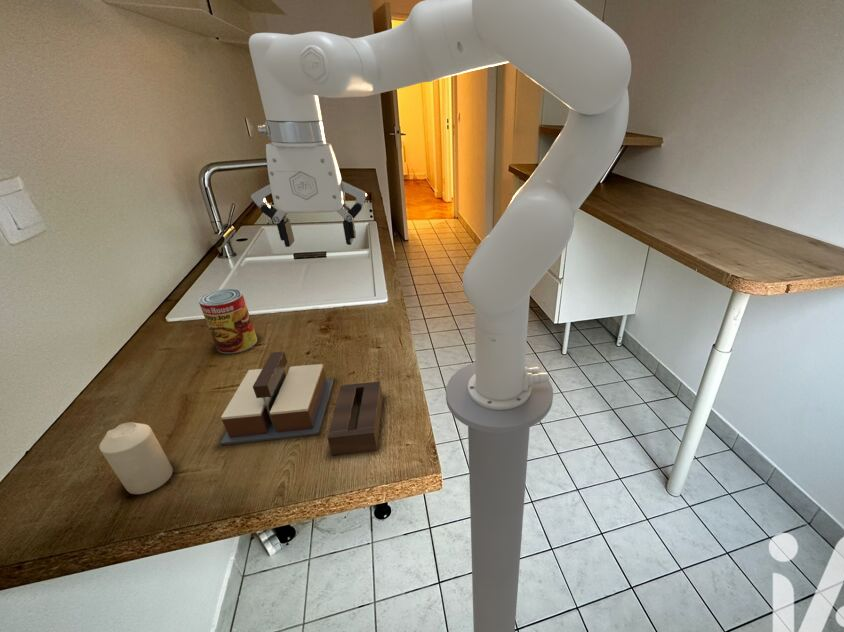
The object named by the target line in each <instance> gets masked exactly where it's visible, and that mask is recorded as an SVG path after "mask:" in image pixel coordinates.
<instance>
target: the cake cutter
mask: <svg viewBox="0 0 844 632" xmlns="http://www.w3.org/2000/svg"><path fill="white" fill-rule="evenodd" d="M287 364H288V359H287V356H286V352H285V351H274V352H270V354H269V356H268V358H267V360H266V361H265V364H264V365H263V367H262V368H261V369H262V371H261V372H260V374H259V376H258V378H257V380H256V382H255V383H254V385H253V389H254V392H255V395H256V398H263V400H264V403H265V406H266V409H267V412H268V414H269V417H270V420H271V423H272V426H273V427H275V426H274V423H273V420H272V418H271V415H270V411H271V409H272V406H273V404H274V402H275V400H276V397H277V395H278V393H279V391H280V389H281V386H282V384H283V382H284V380H285V378H286V375H287V373H286V371H285V368H286V366H287Z"/></svg>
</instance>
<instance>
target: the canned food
mask: <svg viewBox="0 0 844 632" xmlns="http://www.w3.org/2000/svg"><path fill="white" fill-rule="evenodd" d="M198 304H199V307H200V309H201V311H202V314H203V317H204V320H205V321H206V325H207V327H208V330H209V332H210V334H211V337H212V340H213V342H214V344H215V347H216V350H217V351H218V352H219V353H222V354H235V353H236V354H237V353H241V352H243V351H247V350H248V349H250V348H252V347H254V346H255V345H256V344H257V342H258V337H257V334H256V331H255V327H254V324H253V321H252V319H251V316H250V313H249V309H248V307H247V303H246V300H245V297H244V294H243V292H242V291H241V290H240V289H237V288H221V289H217V290H213V291H210V292H206V293H205V294H203V295H201V296H200V297H199V299H198Z"/></svg>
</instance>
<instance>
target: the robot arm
mask: <svg viewBox="0 0 844 632" xmlns="http://www.w3.org/2000/svg"><path fill="white" fill-rule="evenodd" d="M248 48H249V54H250V58H251V61H252V62H251V63H252V67H253V70H254V74H255V78H256V83H257V86H258V92H259V95H260V99H261V103H262V108H263V111H264V112H263V113H264V116H265V121H264V123H263V124H257V131H258V134H260V135H261V136H262V135H263V136H267V137H268V139H269V141H271V142H270V143H267V144H265V155H266V156H265V157H266V165H267V174H268V181H269V183H268V184H267V185H265V186H264V187H261V188H260V189H258V190H256V191H255V192H253V193H252V194H250V198H251V199H252V201H253V202H254V204H256V206H257V207H258V208H259V209H260V211H261V212H262V214H264V215H266V216H267V217H268V218H270V219H271V220H272V222H273V223H274V224H276V226H277V230H278V235H279V238H280V241H283V243H284V247H285V248H290V247H292V245H293V244H294V243H295V237H294V232H293V229H292V223H291V220H290V218H289V217H287V215H288V214H309V213H310V214H312V213H313V214H314V213H315V214H316V213H317V214H318V213H319V214H320V213H335V212H336V213H337V214H339V215H340V217H342V218H343V222H342V227H343V232H344V233H343V234H344V238H345V244H346V245H347V246H351V245H352V244H353V241H354V239H356V238H357V233H356V226H355V218H356V217H357V215H358V214H359V213H360V212H361V211H362V209H363V207H364V204H365V201H366V199H367V196H368V194H367V192H366V191H364V190H362V189H360V188H358V187H356V186H353V185H352V184H350V183H348V182H346V181H343V179H342V175H341V172H340V167H339V164H338V160H337V157H336V154H335V152H334V149H333V146H332V143H331V142H327V140H326V133H325V128H324V123H323V116H322V111H321V105H320V100H319V97H320V98H329V99H342V98H343V99H344V98H363V97H371V96H374V95H378V94H382V93H386V92H387V93H388V92H391V91H395V90H400V89H404V88H406V87H411V86H415V85H418V84H422V83H431V82H435V81H437V80H441V79H445V78H449V77H454V76H457V75H462V74H464V73H465V74H466V73H469V72H473V71H477V70H482V69H487V68H491V67H496V66H500V65H504V64H510V65H511V66H513V67H514V68H515V69H517V70H518V71H519V72H521V73H522V74H523V75H525V76H526V77H527V78H529V79H530V80H531V81H533V82H534V83H535V84H537V85H539V86H540V87H541V88H543V90H546V91H547V92H548V93H549V94H551V95H552V96H554V97H555V98H556V99H558V100H559V101H561V102H562V103H563V104H565V105H566V106H567V107H568V114H567V119H566V121H565V122H564V123H565V124H564V126H563V128H562V129H561V130H560V133H559V135H558V136H557V137H556V138H555V140H554V142H553V143H552V144H551V146H550V147H549V149H548V151H547V153H546V154H545V155H544V157H543V159H542V160H541V161H540V163H539V164H538V166H537V167H536V168H535V170H534V171H533V172H532V174H530V176H529V178H528V179H527V180H526V182H524V184H522V185H521V186H520V187H519V189H518V190H517V191H516V192H515V194H514V195H513V196H512V199H511V200H510V203H509V204H508V206H507V207H506V208H505V211H504V212H503V214H502V215H501V216H500V218H499V220H498V221H497V222H496V224H495V225H494V227H493V228H492V229H491V231H490V233H489V234H488V235H487V236H485V237H484V238H483V239H482V240H481V241H480V242H479V244H478V245H477V247H476V249H475V250H474V252H473V254H472V255H471V258H470V259H469V261H468V263H467V264H466V267H465V269H464V271H463V275H462V290H463V293H464V296H465V298H466V300H467V302H468V303H469V304H470V305H471V306H472V308H474V340H475V341H474V349H475V350H474V351H475V353H474V357H475V359H474V360H475V361H474V362H476V373H475V374H474V375H473V376H472V377H471V378H470V380H469V382H468V393H469V396H470V397H471V399H472V400H473V401H474V402H475V403H477V404H478V405H480V406H482V407H485V408H488V409H492V410H507V409H512V408H515V407H518V406H520V405H522V404H523V403H525V402H526V401H527V400H528V399H529V397H530V395H531V391H532V385H533V383H545V382H548V381H550V377H549V373H548V372H542V373H539V370H540V367H539V366H533V367H534V368H527V367H525V363H526V357H527V344H528V343H527V340H528V325H529V315H530V314H529V311H530V297H531V291H532V290H533V289H534V288H535V286H536V285H537V284H538V283H539V282H540V281H541V279H542V278H543V277H544V276H545V274H546V273H547V272H548V271H549V270H550V269H551V267H552V266H553V265H554V264H555V262H556V261H557V260H558V258H559V257H560V256H561V255H562V253H563V252H564V250H565V249H566V247H567V246H568V244H569V242H570V240H571V237H572V235H573V231H574V227H575V226H574V225H575V216H576V214H577V212H578V210H579V209H580V208H581V206H582V205H583V203H584V202H585V201H586V199H587V198H588V197H589V196H590V194H591V193H592V192H593V190H594V189H595V187H596V186H597V184H598V183H599V182H600V181H601V180H602V178H603V177H604V175H605V174H606V173H607V171H608V169H610V167H611V166H612V164H613V162H614V160H615V159H616V157H617V155H618V154H619V151H620V149H621V148H622V145H623V142H624V139H625V137H626V132H627V127H628V122H629V115H630V97H629V90H628V87H629V84H630V81H631V75H632V60H631V54H630V52H629V49H628V47H627V45H626V43H625V42H624V40H623V38H622V37H621V36H620V35H619V34H618V33H617V32H616V31H614V30H613V28H611V27H610V26H609V25H607V24H606V23H605V22H603V21H602V20H601V19H599V18H598V17H597V16H595V15H594V14H593V13H592V12H591V11H589V10H588V9H586V8H585V7H584V6H582V4H580V3H579V2H577V1H576V0H422V1H419V2H418V3H416V4H415V5H414V6H413V7H412V9H411V11H410V13H409V15H408V17H407V19H405V21H404V22H401V23H400V24H399V25H397V26H395V27H393V28H389V29H387V30H383V31H380V32H377V33H372V34H368V35H365V36H359V37H355V38H354V37H353V38H351V37H349V36H345V35H339V34H336V33H330V32H325V31H317V30H316V31H306V32H302V33H296V34H289V33H288V34H286V33H279V32H257V33H254V34H252V35H250V36H249V39H248ZM346 194H348V195H350V196H352V197H354V198H355V203H354V204H353V206H351V207H350V206H349V205H348V204H347V203H346ZM270 195H271V197H272V201H273V204H274V206H273V205H271V204H270V203H269V202H268V200H267V199H266V197H268V196H270Z"/></svg>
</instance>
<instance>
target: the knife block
mask: <svg viewBox="0 0 844 632" xmlns="http://www.w3.org/2000/svg"><path fill="white" fill-rule="evenodd" d="M339 388H340V389H339V390H338V394H337V395H338V396H337V399H336V404H335V407H334V411H333V415H332V420H331V423H330V426H329V431H328V434H327V440H328V445H329V449H330V452H331V456H341V455H348V454H349V455H350V454H358V453H366V452H374V451H378V447H379V437H380V428H381V419H382V412H383V411H382V410H383V409H382V408H383V400H384V396H383V389H382V383H381V381H371V382H358V383H348V384H341V385H340V387H339ZM359 407H360V408H359ZM358 413H359V414H358ZM356 424H357V426H356Z"/></svg>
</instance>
